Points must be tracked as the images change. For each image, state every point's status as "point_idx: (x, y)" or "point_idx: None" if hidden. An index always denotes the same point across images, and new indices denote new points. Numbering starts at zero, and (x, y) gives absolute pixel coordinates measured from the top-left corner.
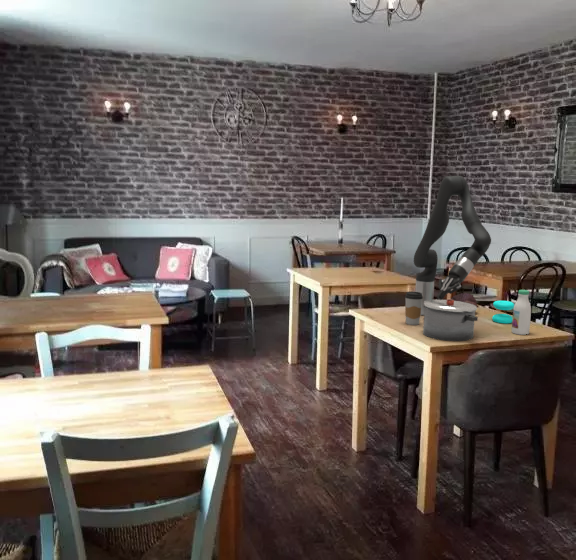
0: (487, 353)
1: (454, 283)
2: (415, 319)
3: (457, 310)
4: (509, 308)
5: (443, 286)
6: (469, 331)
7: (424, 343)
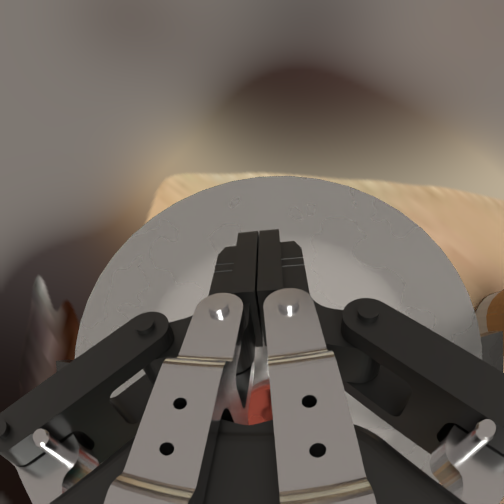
0: (35, 305)
1: (87, 475)
2: (484, 318)
3: (90, 308)
4: None
5: (298, 348)
6: None
7: (200, 175)
